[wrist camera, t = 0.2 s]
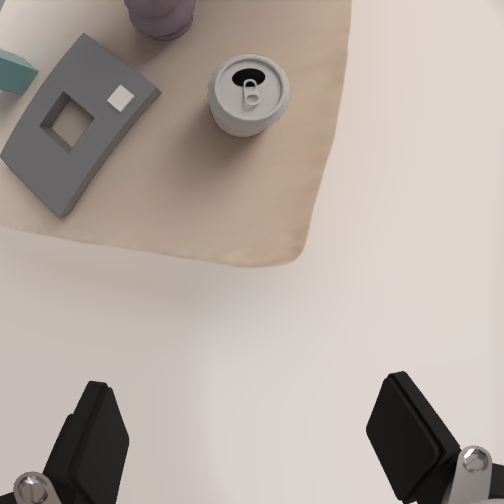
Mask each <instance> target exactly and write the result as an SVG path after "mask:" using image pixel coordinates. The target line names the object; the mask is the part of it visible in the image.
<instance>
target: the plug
mask: <svg viewBox="0 0 504 504" xmlns="http://www.w3.org/2000/svg"><path fill="white" fill-rule="evenodd" d="M38 72H39V71H38V70H37V69H35V68H34V67H33V66H32V65H31V64H30V63H29V62H27V61H26V60H25V59H24V58H23V57H20V56H18V55H15V54H12V53H10V52H7V51H5V50H2V49H0V89H1V90H6V91H10V92H15V93H20V94H24V92H25V91H26V89H27V88H28V86H29V85H30V83H31V82H32V80H33V79H34V78H35V76H36V75H37V73H38Z"/></svg>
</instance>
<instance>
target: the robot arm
mask: <svg viewBox="0 0 504 504" xmlns="http://www.w3.org/2000/svg"><path fill="white" fill-rule="evenodd" d="M366 432H367V436H368V438H369V440H370V442H371V444H372V446H373V448H374V450H375V453H376V455H377V457H378V459H379V461H380V463H381V465H382V467H383V469H384V472H385V474H386V476H387V478H388V480H389V482H390V484H391V486H392V489H393V491H394V493H395V495H396V497H397V499H398V500H402V502H403V504H410V503H412V502H415V501H417V503H418V504H504V466H503V465H498V464H494V463H492V458H491V456H490V454H489V453H488V451H487V450H485V449H483V448H482V447H479V446H468V447H466V448H464V449H463V450H461V449H460V448H459V447H460V445H459V444H458V442H457V441H456V440H455V438H454V437H453V436H452V434H451V432H450V431H449V430H448V428H447V427H446V426H445V424H444V423H443V421H442V420H441V419H440V417H439V416H438V414H437V413H436V412H435V411H434V409H433V408H432V406H431V405H430V404H429V402H428V401H427V399H426V398H425V397H424V395H423V394H422V393H421V391H420V390H419V389H418V387H417V386H416V385H415V384H414V382H413V381H412V380H411V378H410V377H409V376H408V374H407V373H406V372H404V371H401V372H397V373H391V374H389V375H388V377H387V378H386V379H384V381H383V384H382V387H381V389H380V392H379V395H378V398H377V401H376V403H375V406H374V408H373V411H372V414H371V416H370V419H369V421H368V424H367V426H366ZM128 446H129V436H128V433H127V431H126V428H125V425H124V423H123V420H122V417H121V414H120V411H119V408H118V405H117V402H116V399H115V396H114V393H113V390H112V388H110V387H108V386H107V384H106V383H104V382H96V381H89V382H88V384H87V386H86V388H85V390H84V392H83V394H82V396H81V398H80V400H79V402H78V404H77V407H76V409H75V411H74V413H73V414H70V415H68V417H67V418H66V420H65V423H64V425H63V427H62V429H61V431H60V433H59V436H58V438H57V440H56V442H55V445H54V447H53V449H52V452H51V454H50V456H49V459H48V461H47V463H46V466H45V468H44V470H43V473H42V474H41V473H38V472H26V473H24V474H22V475H20V476H19V477H18V478H17V479H16V481H15V483H14V488H13V489H14V492H11V493H8V494H5V495H2V496H0V504H116V500H117V495H118V490H119V485H120V481H121V476H122V472H123V467H124V463H125V459H126V455H127V451H128Z"/></svg>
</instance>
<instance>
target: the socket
mask: <svg viewBox="0 0 504 504" xmlns="http://www.w3.org/2000/svg"><path fill="white" fill-rule="evenodd" d="M160 94H161V92H160V91H159V90H158V89H157V88H156V87H155V86H154V85H152V84H151V83H150V82H148V81H147V80H146V79H145V78H143V77H142V76H141V75H140V74H138V73H137V72H136V71H134V70H133V69H132V68H131V67H129V66H128V65H127V64H125V63H124V62H123V61H121V60H120V59H119V58H118V57H116V56H115V55H114V54H112V53H111V52H110V51H108V50H107V49H105V48H104V47H103V46H101V45H100V44H99V43H97V42H96V41H95V40H93V39H92V38H90V37H89V36H88V35H86V34H85V33H83V34H82V35H81V36H80V38H79V39H78V40H77V41H76V42H75V43H74V44H73V46H72V47H71V48H70V49H69V50H68V52H67V53H66V54H65V55H64V57H63V58H62V59H61V60H60V62H59V63H58V64H57V65H56V67H55V68H54V69H53V71H52V72H51V73H50V75H49V76H48V77H47V79H46V80H45V82H44V83H43V84H42V86H41V87H40V89H39V90H38V92H37V93H36V95H35V96H34V98H33V99H32V101H31V102H30V104H29V105H28V107H27V108H26V110H25V112H24V113H23V115H22V117H21V118H20V120H19V122H18V123H17V125H16V127H15V128H14V130H13V132H12V134H11V136H10V137H9V139H8V141H7V143H6V145H5V147H4V149H3V151H2V153H1V154H0V158H1V159H2V160H3V161H4V162H5V163H6V165H7V166H8V167H9V168H10V169H11V170H12V171H13V172H14V173H15V174H16V175H17V176H18V178H19V179H20V180H21V181H22V182H23V183H24V184H25V185H26V186H27V187H28V188H29V189H30V190H31V191H32V192H33V193H34V194H35V195H36V196H37V197H38V198H39V199H40V200H41V201H42V202H43V203H44V204H45V205H46V206H47V207H48V208H49V209H50V210H51V211H52V212H53V213H54V214H55V215H56V216H57V217H58V218H61V217H64V216H66V215H68V214H70V212H71V210H72V209H73V207H74V206H75V204H76V202H77V201H78V199H79V198H80V196H81V195H82V193H83V192H84V190H85V189H86V187H87V186H88V184H89V183H90V181H91V180H92V178H93V177H94V176H95V174H96V173H97V171H98V170H99V169H100V167H101V166H102V164H103V163H104V162H105V160H106V159H107V158H108V156H109V155H110V154H111V152H112V151H113V150H114V148H115V147H116V146H117V144H118V143H119V142H120V141H121V139H122V138H123V137H124V136H125V134H126V133H127V132H128V131H129V129H130V128H131V127H132V126H133V124H134V123H135V122H136V121H137V120H138V119H139V117H140V116H141V115H142V114H143V113H144V111H145V110H146V109H147V108H148V107H149V106H150V105H151V104H152V102H153V101H154V100H155V99H156V98H157V97H158V96H159V95H160ZM70 98H72V99H73V100H75V101H76V102H77V103H78V104H79V105H80V106H81V107H83V108H84V109H85V110H86V111H87V112H88V113H89V114H91V115H92V116H93V117H94V120H93V121H92V122H91V124H90V125H89V126H88V128H87V129H86V130H85V132H84V133H83V135H82V136H81V137H80V139H79V140H78V142H77V143H76V144H75V146H74V147H73V148H72V147H70V146H69V145H68V144H67V143H66V142H65V141H64V140H63V139H62V138H61V137H60V136H59V135H58V134H57V133H56V132H54V131H53V130H52V129H51V128H50V127H51V125H52V124H53V122H54V121H55V119H56V118H57V117H58V115H59V114H60V112H61V111H62V109H63V108H64V107H65V105H66V104H67V102H68V101H69V100H70Z"/></svg>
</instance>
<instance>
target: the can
mask: <svg viewBox="0 0 504 504" xmlns="http://www.w3.org/2000/svg"><path fill="white" fill-rule="evenodd" d="M207 97H208V100H209V104H210V107H211V111H212V114H213V117H214V120H215V122H216V123H217V124H218V126H219V127H220V128H221V129H222V130H224V131H225V132H226V133H228V134H231V135H234V136H237V137H249V136H252V135H256V134H258V133H260V132H261V131H263V130H264V129H266V128H267V127H268V126H270V125H271V124H273V123H274V122H276V121H277V120H279V118H280V117H281V116H282V115H283V113H284V112H285V111H286V109H287V107H288V104H289V101H290V84H289V81H288V78H287V76H286V74H285V73H284V72H283V70H282V69H281V68H280V66H279V65H277V64H276V63H274V62H273V61H272V60H270V59H269V58H266V57H263V56H260V55H257V54H241V55H237V56H234V57H231V58H229V59H227V60H226V61H224V62H222V63H221V64H220V65H219V66H218V67H217V68H216V69H215V71H214V72H213V73H212V75H211V78H210V80H209V83H208V96H207Z"/></svg>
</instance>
